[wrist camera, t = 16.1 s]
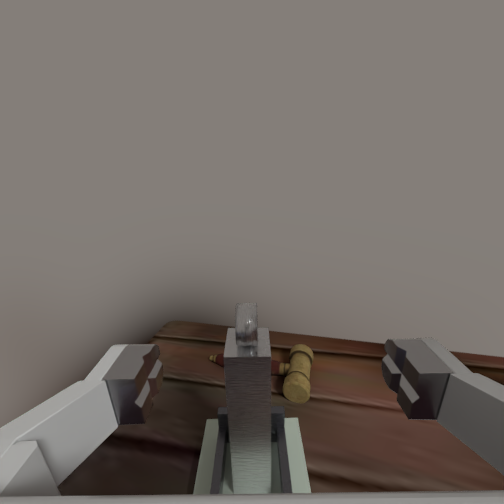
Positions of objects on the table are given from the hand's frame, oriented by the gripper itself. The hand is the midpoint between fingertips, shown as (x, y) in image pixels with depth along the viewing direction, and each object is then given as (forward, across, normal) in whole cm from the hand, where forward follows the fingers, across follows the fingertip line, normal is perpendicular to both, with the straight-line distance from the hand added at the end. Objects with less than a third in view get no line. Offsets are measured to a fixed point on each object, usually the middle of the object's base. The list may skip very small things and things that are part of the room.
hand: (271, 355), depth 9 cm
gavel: (+31, +1, +32) cm, 45 cm away
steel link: (+13, +2, +30) cm, 33 cm away
